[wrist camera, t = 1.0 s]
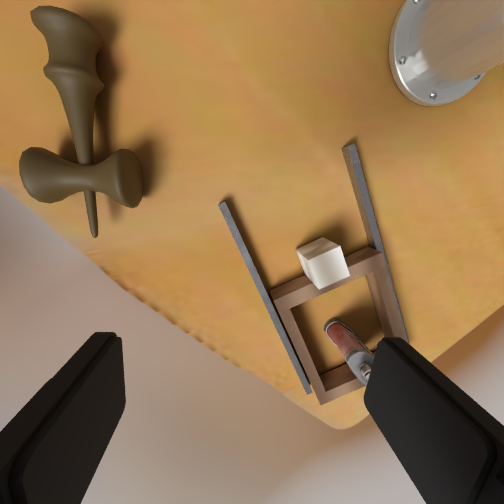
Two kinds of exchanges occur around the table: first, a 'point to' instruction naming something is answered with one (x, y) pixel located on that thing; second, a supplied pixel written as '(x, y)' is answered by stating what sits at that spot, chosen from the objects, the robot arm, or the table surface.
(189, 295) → the table surface
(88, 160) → the kendama
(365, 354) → the lighter
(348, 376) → the sliding frame
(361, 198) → the guide rails
